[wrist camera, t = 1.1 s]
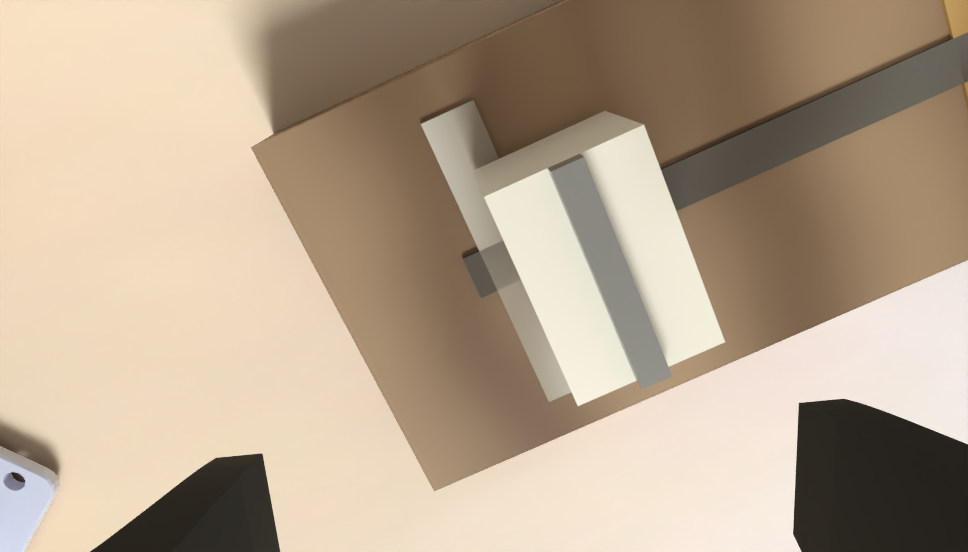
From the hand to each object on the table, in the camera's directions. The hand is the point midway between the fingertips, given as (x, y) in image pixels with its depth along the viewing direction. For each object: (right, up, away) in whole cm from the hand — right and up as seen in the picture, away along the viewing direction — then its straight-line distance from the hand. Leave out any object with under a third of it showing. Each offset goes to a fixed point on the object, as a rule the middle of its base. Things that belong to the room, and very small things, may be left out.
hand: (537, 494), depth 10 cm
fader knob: (+1, +4, +6) cm, 8 cm away
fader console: (+5, +6, +9) cm, 12 cm away
